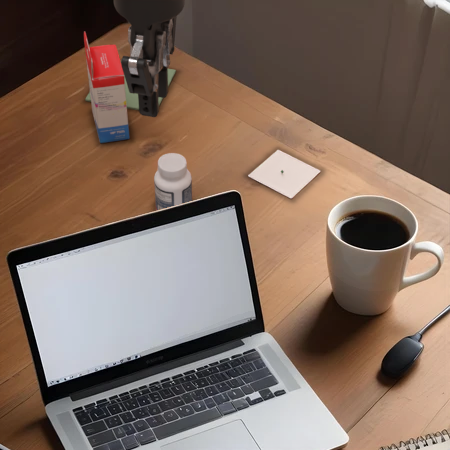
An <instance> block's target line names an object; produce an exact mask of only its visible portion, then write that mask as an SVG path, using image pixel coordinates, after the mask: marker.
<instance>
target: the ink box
mask: <svg viewBox="0 0 450 450" xmlns="http://www.w3.org/2000/svg"><path fill="white" fill-rule="evenodd" d="M83 42H84V43H83V44H84V52H85V61H86V69H87V78H88V87H89V92H90V96H91V102H90V103H91V112H92V116H93V120H94V124H95V129H96V133H97V137H98V141H99V143H100V144H105V143H112V142H118V141H119V142H120V141H125V140H130V138H131V137H130V129H129V117H128V108H127V105H126V93H125V81H124V72H123V69H122V65H121V58H120V55H119V50H118V48H117V45H116V44H102V45H95V46H90V45H89V41H88V37H87V33H86V31H83Z"/></svg>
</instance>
